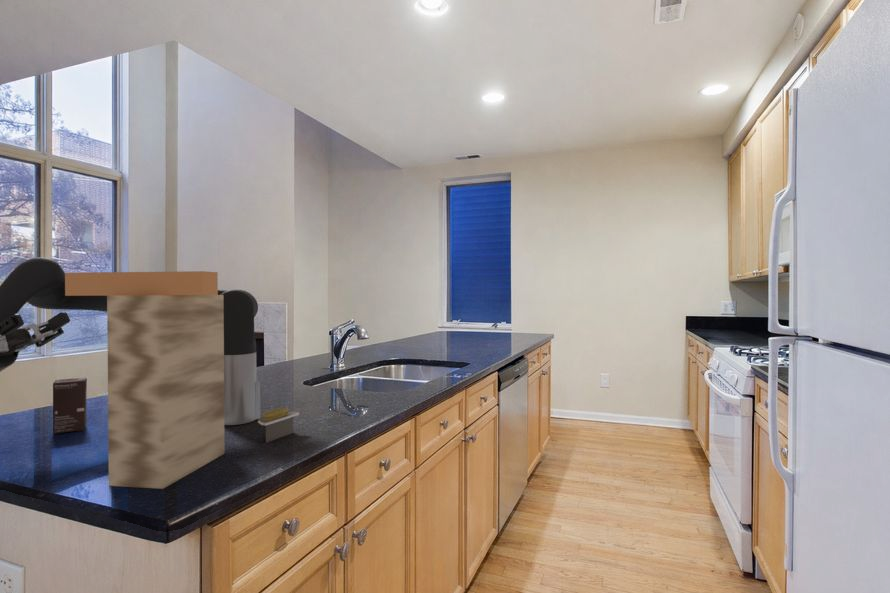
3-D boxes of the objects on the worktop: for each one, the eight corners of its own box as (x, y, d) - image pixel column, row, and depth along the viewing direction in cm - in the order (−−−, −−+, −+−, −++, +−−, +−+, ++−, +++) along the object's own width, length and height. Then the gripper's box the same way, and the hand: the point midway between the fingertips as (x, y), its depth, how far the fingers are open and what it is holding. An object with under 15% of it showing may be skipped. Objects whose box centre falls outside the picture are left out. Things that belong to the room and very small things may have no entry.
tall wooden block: (108, 485, 78) (107, 295, 78) (179, 451, 95) (177, 295, 95) (163, 488, 77) (161, 295, 76) (224, 453, 94) (223, 294, 93)
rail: (65, 295, 81) (65, 272, 81) (85, 295, 85) (85, 273, 85) (203, 295, 78) (202, 271, 78) (217, 295, 82) (217, 272, 82)
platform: (224, 446, 99) (224, 416, 99) (287, 425, 115) (287, 398, 115) (264, 455, 94) (264, 423, 94) (325, 431, 110) (324, 403, 110)
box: (52, 435, 106) (51, 382, 106) (55, 430, 110) (54, 379, 110) (85, 430, 110) (85, 379, 110) (87, 426, 113) (86, 377, 113)
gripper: (-80, 347, 79) (-8, 299, 77) (9, 338, 93) (71, 298, 91) (-61, 385, 78) (12, 339, 77) (26, 371, 92) (89, 332, 91)
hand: (44, 317), depth 84 cm, fingers open, 8 cm apart
